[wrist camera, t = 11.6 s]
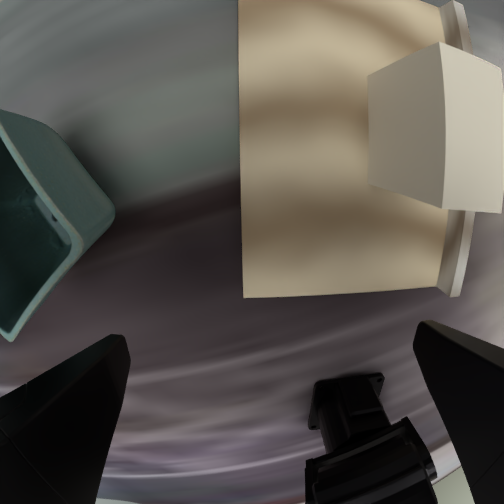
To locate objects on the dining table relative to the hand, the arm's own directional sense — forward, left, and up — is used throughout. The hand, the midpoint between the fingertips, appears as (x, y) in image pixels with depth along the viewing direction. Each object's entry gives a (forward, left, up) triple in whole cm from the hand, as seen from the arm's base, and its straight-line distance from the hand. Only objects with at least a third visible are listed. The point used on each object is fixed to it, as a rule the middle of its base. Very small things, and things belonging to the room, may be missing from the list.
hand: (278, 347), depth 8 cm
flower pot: (+3, +13, -12) cm, 18 cm away
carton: (+7, -9, -11) cm, 16 cm away
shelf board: (+7, -7, -12) cm, 16 cm away
